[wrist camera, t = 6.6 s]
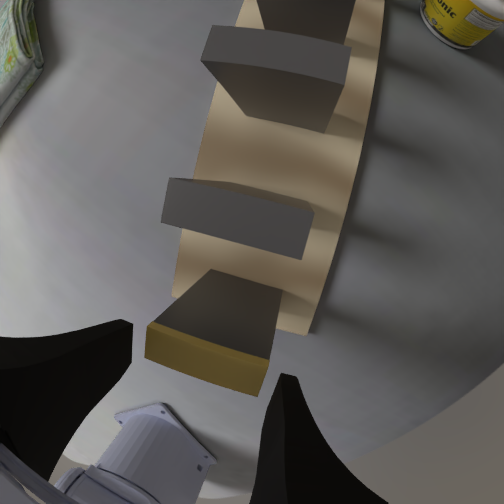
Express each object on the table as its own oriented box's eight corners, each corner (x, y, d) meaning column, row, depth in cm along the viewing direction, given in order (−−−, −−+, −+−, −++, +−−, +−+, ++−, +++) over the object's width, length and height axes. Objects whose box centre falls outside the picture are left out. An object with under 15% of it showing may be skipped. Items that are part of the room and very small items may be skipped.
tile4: (341, 54, 15) (363, -28, 7) (267, 39, 16) (241, -46, 7) (344, 36, 15) (365, -47, 6) (272, 22, 15) (250, -63, 7)
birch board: (306, 332, 20) (306, 336, 20) (174, 293, 21) (171, 296, 21) (385, -49, 12) (387, -52, 11) (275, -70, 13) (275, -74, 12)
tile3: (324, 133, 17) (344, 85, 8) (246, 116, 17) (200, 60, 9) (329, 110, 16) (351, 47, 8) (252, 93, 17) (212, 25, 8)
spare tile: (276, 311, 20) (257, 397, 11) (206, 290, 20) (144, 357, 11) (283, 289, 19) (268, 367, 10) (210, 268, 20) (146, 326, 11)
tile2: (300, 226, 18) (301, 260, 9) (224, 206, 19) (160, 222, 10) (307, 201, 18) (314, 212, 9) (229, 181, 18) (169, 177, 10)
